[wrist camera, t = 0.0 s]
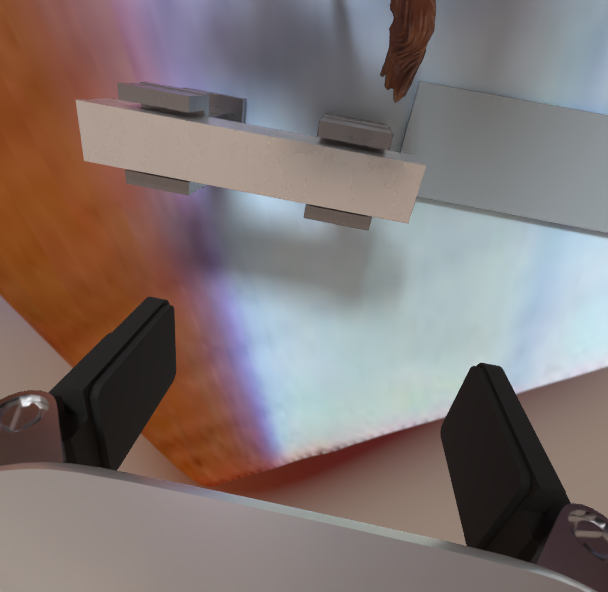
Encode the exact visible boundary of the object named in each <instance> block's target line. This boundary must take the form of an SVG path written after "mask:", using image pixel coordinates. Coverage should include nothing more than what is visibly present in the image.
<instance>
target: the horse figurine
mask: <svg viewBox="0 0 608 592" xmlns="http://www.w3.org/2000/svg"><path fill="white" fill-rule="evenodd" d="M435 1H436V0H391V4H390V10H391V12H392V13H393V16H394V20H393V22H392V24H391V26H390V28H389V31H390V38H389V39H390V40H389V49H388V52H387V56H386V60H385V63H384V65H383V68H382V71H381V73H380V76H381V77H383V76H385V75H386V78H385V88H386V89H387V90H389V89H391V88H393V89H394V92H393V100H394V102H395V103H396V102H398V101H399V100H400V99H401V98H402V97H404V96H405V95H406V93H407V91H408V89H409V88H410V86H411V84H412V81H413V79H414V76H415V74H416V72H417V70H418V67H419V65H420V64H421V62H422V60H423V58H424V55H425V52H426V46H427V44H428V41H429V40H430V38H431V36H432V34H433V32H434V27H435V16H436V2H435Z"/></svg>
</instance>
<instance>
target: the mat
mask: <svg viewBox="0 0 608 592" xmlns="http://www.w3.org/2000/svg"><path fill="white" fill-rule="evenodd" d="M400 153H405V154H410V155H416V156H418V157H419V158H420V159H421V160H422V161H423V163H424V164H425V165H426V168H425V171H424V174H423V178H422V181H421V184H420V187H419V190H418V194H417V197H422V198H427V199H433V200H438V201H443V202H448V203H454V204H459V205H464V206H469V207H474V208H480V209H485V210H490V211H495V212H501V213H506V214H511V215H516V216H522V217H527V218H532V219H537V220H543V221H548V222H553V223H558V224H564V225H569V226H574V227H579V228H584V229H590V230H595V231H600V232H605V233H608V115H603V114H598V113H592V112H587V111H581V110H576V109H570V108H564V107H559V106H553V105H548V104H542V103H537V102H531V101H526V100H520V99H515V98H509V97H504V96H498V95H493V94H487V93H482V92H476V91H471V90H465V89H459V88H454V87H448V86H443V85H437V84H432V83H426V82H421V81H420V82H419V85H418V89H417V92H416V96H415V100H414V103H413V107H412V111H411V114H410V118H409V122H408V125H407V129H406V133H405V136H404V140H403V143H402V147H401V151H400Z"/></svg>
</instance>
